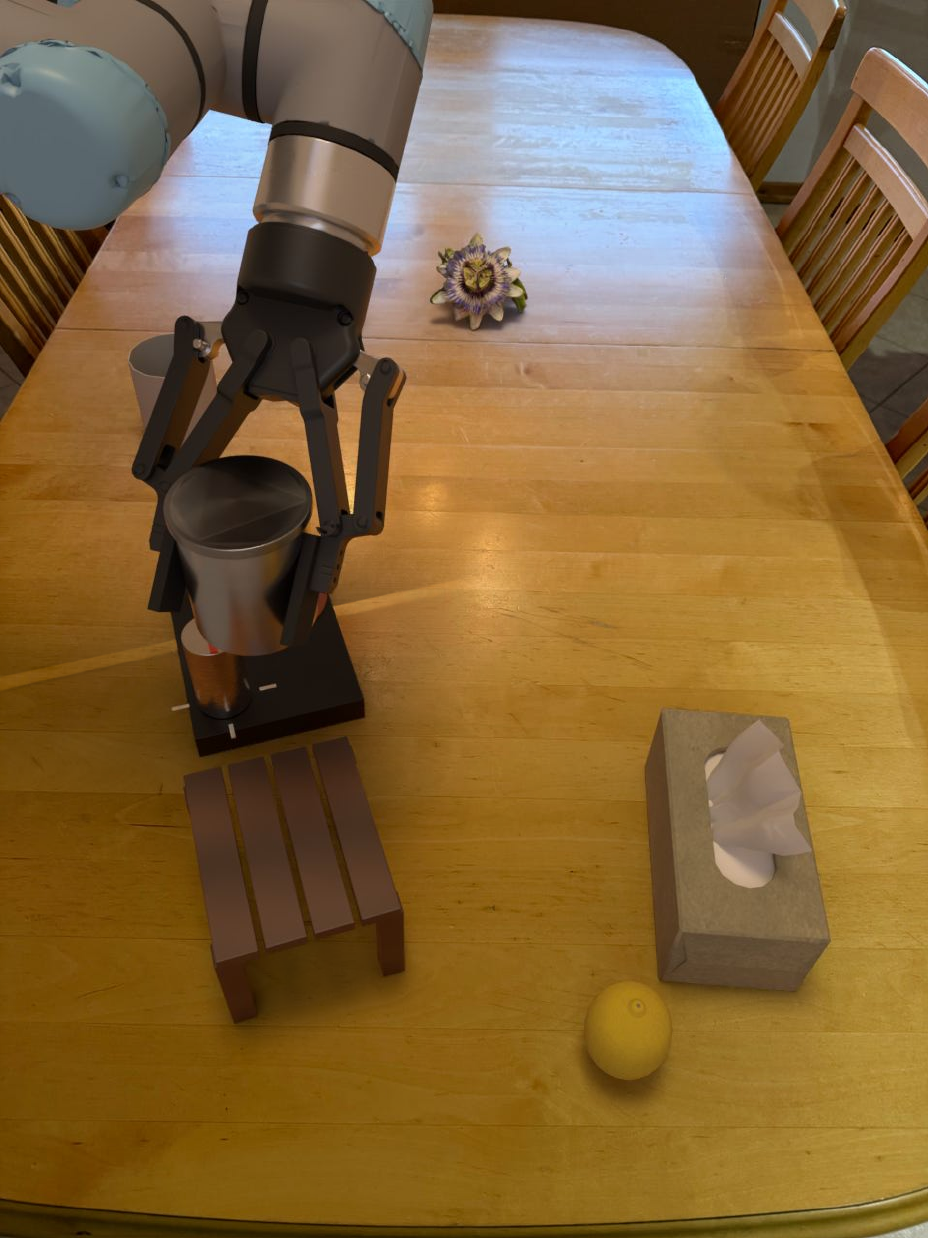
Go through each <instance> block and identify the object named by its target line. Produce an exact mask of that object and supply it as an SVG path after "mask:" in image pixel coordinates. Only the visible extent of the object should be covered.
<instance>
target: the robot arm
mask: <svg viewBox="0 0 928 1238" xmlns="http://www.w3.org/2000/svg"><path fill="white" fill-rule="evenodd" d="M56 2H57V3H55V2H51V1H49V0H0V195H2V196H4V197H5V198H6V199H7V200H8V201H9V202H10V203H12V204H13V205H14V206H15V207H17V209H19V210H20V211H21V214H22V215H24V216H26V217H27V218H29V219H31V220H33V221H35V222H37V223H39V224H41V225H45V226H47V227H51V228H53V229H57V230H58V229H59V230H63V231H75V232H77V231H88V230H95V229H97V228H101V227H103V226H106V225H108V224H109V223H111V222H113V221H115V220H116V219H117V218H118V217H120V216H121V215H122V214H123V213H124V212H125V211H127V210H128V209H129V208H130V207H131V206H132V205H134V204H135V202H137V201H138V200H139V199H141V198H142V197H144V196H145V195H146V194H147V193H149V192H150V191H151V190H152V188H153V186H154V185H155V184H156V183H157V182H158V181H159V180H160V178H161V177H162V173H163V171H164V168H165V166H166V165H167V163H168V162H169V161H170V159H171V157H172V156H173V155H174V153H176V151H177V150H178V148H179V147H180V145H181V144H182V142H183V141H184V140H185V139H186V138H188V137H189V136H190V135H191V134H192V133H193V131H194V130H195V129H196V127H198V125H199V124H200V122H201V121H202V120H203V119H204V118H205V116H206V115H207V114H208V112H210V111H212V112H216V113H220V114H224V115H228V116H232V117H235V118H240V119H243V120H247V121H251V122H255V123H258V124H262V125H264V124H265V125H266V124H268V125H271V128H270V132H269V137H268V141H267V142H268V143H267V149H266V152H265V157H264V160H263V164H262V168H261V173H260V177H259V182H258V185H257V190H256V194H255V198H254V201H253V206H252V216H253V217H254V219H255V221H256V222H257V223H256V224H255V225H253V226H252V227H251V228H249V229H248V230H247V235H246V238H245V239H246V240H245V244H244V249H243V252H242V257H241V261H240V267H239V271H238V275H237V279H236V280H237V281H236V292H235V299H234V302H233V305H232V306H231V308H230V310H229V311H228V312H227V313H226V315H225V316H224V317H223V319H222V320H221V321H218V320H217V321H215V320H214V321H213V320H212V321H197V320H195V319H194V318H192V317H190V316H188V315H181V316H178V318H177V319H176V320H175V322H174V328H173V329H174V330H173V333H174V353H173V357H172V360H171V363H170V366H169V368H168V371H167V374H166V376H165V379H164V382H163V384H162V387H161V390H160V392H159V395H158V398H157V400H156V403H155V406H154V408H153V411H152V414H151V416H150V419H149V422H148V425H147V427H146V430H145V429H144V433H143V436H142V437H141V441H140V443H139V446H138V449H137V452H136V453H135V456H134V460H133V462H132V465H131V474H132V476H133V478H135V479H137V480H139V481H142V482H143V483H145V484H146V485H147V486H149V487H150V488H152V489H153V490H154V491H155V493H156V496H157V501H156V506H155V511H154V516H153V520H152V525H151V529H150V535H149V539H148V544H149V550H150V551H154V552H158V553H159V554H158V559H157V563H156V568H155V573H154V577H153V581H152V585H151V590H150V594H149V599H148V604H147V608H146V610H149V611H152V612H155V613H171V612H180V611H181V606H182V602H183V597H184V593H185V588H186V581H185V577H184V573H183V568H182V564H181V560H180V556H179V552H178V548H177V543H176V540H175V539H174V538H173V536H172V535H171V534H170V532H169V530H168V528H167V525H166V522H165V518H164V511H163V506H164V500H165V497H166V494H167V493H168V491H169V489H170V487H171V486H172V485H173V484H174V482H175V481H176V480H177V479H178V478H179V477H181V476H182V475H183V474H184V473H186V472H187V471H189V470H191V469H192V468H194V467H196V466H198V465H200V464H202V463H205V462H208V461H210V460H214V459H217V458H221V456H222V454H223V453H224V452H225V450H226V448H227V447H228V446H229V444H230V443H231V441H232V440H233V438H234V437H235V435H236V434H237V433H238V431H239V429H240V427H241V426H242V425H243V424H244V422H245V420H246V419H247V417H248V416H249V414H251V413H253V412H254V411H256V410H257V408H258V407H259V406H260V405H261V403H262V401H263V400H264V401H268V402H274V403H277V402H287V403H289V404H291V405H293V406H295V407H297V408H298V410H299V413H300V416H301V418H302V420H303V423H304V425H303V426H304V430H305V437H306V444H307V450H308V451H307V452H308V456H309V464H310V470H311V476H312V484H313V490H314V491H313V492H314V497H315V504H316V511H317V517H318V524H319V526H315V529H316V532H317V533H318V534H319V535H318V534H314V533H311V534H309V533H305V535H304V540H303V544H302V548H301V552H300V556H299V561H298V565H297V569H296V574H295V578H294V583H293V587H292V591H291V596H290V600H289V604H288V609H287V613H286V617H285V622H284V626H283V630H282V635H281V639H280V643H279V644H281V645H284V646H288V647H299V646H307V645H308V641H309V637H310V633H311V628H312V624H313V620H314V615H315V611H316V607H317V602H318V598H319V594H320V593H324V594H329V595H332V594H334V592H335V590H336V589H337V588H338V584H339V580H340V576H341V572H342V571H341V570H342V568H343V563H344V559H345V554H346V551H347V546H348V544H349V543H350V541H352V540H353V539H355V538H361V537H369V536H374V537H375V536H379V535H380V534H382V533H383V531H384V528H385V519H386V508H387V497H388V484H389V471H390V462H391V461H390V460H391V448H392V438H393V437H392V435H393V425H394V424H393V423H394V410H395V407H396V404H397V402H398V400H399V398H400V395H401V393H402V391H403V388H404V387H405V385H406V382H407V373H406V371H405V370H404V369H403V368H402V367H401V366H400V365H399V364H398V363H397V362H396V361H395V360H393V359H392V358H391V357H388V356H387V357H382V358H380V357H379V356H376V355H374V354H371V353H369V352H366V350H365V346H364V342H363V328H364V325H365V323H366V318H367V314H368V311H369V305H370V302H371V298H372V293H373V289H374V284H375V281H376V276H377V272H378V271H377V269H378V268H377V265H376V264H375V261H374V259H373V258H374V256H377V255H378V254H379V253H380V252H382V248H383V242H384V239H385V234H386V230H387V227H388V226H387V225H388V223H389V217H390V214H391V209H392V206H393V201H394V196H395V192H396V188H397V182H398V178H399V174H400V169H401V166H402V161H403V157H404V154H405V149H406V145H407V141H408V136H409V133H410V128H411V125H412V121H413V117H414V113H415V109H416V104H417V100H418V97H419V93H420V88H421V85H422V82H423V80H424V79H423V78H424V67H425V62H426V61H425V60H426V54H427V51H428V50H427V49H428V44H429V39H430V33H431V28H432V24H433V23H432V22H433V17H434V2H433V0H57V1H56ZM223 345H225V347H226V349H227V352H228V356H229V357H230V358H229V359H230V360H231V364H230V365H229V366H228V368H227V370H226V372H225V373H224V375H223V376H222V378H221V379H220V380H219V382H218V384H217V393H216V395H215V397H214V399H213V400H212V402H211V403H210V405H209V406H208V408H207V409H206V411H205V412H204V414H203V415H202V417H201V418H200V420H199V421H198V423H197V424H196V426H195V427H194V429H193V430H192V432H191V433H190V435H189V436H188V438H187V439H186V441H185V442H184V444H183V445H182V443H183V440H184V438H185V435H186V432H187V430H188V427H189V424H190V422H191V419H192V417H193V414H194V411H195V409H196V406H197V403H198V401H199V398H200V395H201V393H202V390H203V387H204V385H205V382H206V379H207V376H208V373H209V369H210V363H211V360H214V359H216V358H218V356H219V351H220V348H221V347H222V346H223ZM357 371H358V372H359V381H358V382H359V387H360V389H361V390H362V391H363V392H364V393H363V397H362V403H361V411H360V424H359V433H358V434H359V435H358V447H357V459H356V471H355V485H354V498H353V509H352V513H351V507H350V503H349V502H350V501H349V495H348V487H347V481H346V475H345V468H344V461H343V456H342V455H343V454H342V448H341V442H340V435H339V429H338V424H339V414H338V405H337V400H336V393H335V392H336V391H337V390H338V389H339V388H340V387H341V386H342V385H344V384H345V383H346V382H347V381H348V380H349V379H350V378H351V377H352V376H353V375H354V374H355V373H356V372H357ZM181 446H182V447H181Z"/></svg>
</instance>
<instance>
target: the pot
mask: <svg viewBox="0 0 928 1238" xmlns="http://www.w3.org/2000/svg"><path fill="white" fill-rule="evenodd" d="M163 511H164V518H165V522H166V525H167V528H168V530H169V532H170V534H171V535H172V536H173V538H174V539H175V540H176V543H177V548H178V552H179V556H180V560H181V564H182V568H183V573H184V577H185V581H186V585H187V589H188V594H189V598H190V602H191V606H192V610H193V614H194V619H195V623H196V626H197V629H198V631H199V633H200V634H201V635H202V637H203V638H204V639H205V640H206V641H207V642H208V643H209V644H211V645H212V646H214V647H215V648H217V649H219V650H221V651H224V652H227V653H230V654H235V655H241V656H260V655H266V654H271V653H274V652H278V651H280V650H283V649H285V648H287V647H288V646H284V645H281V644H279V643H280V639H281V635H282V630H283V626H284V622H285V617H286V613H287V609H288V604H289V600H290V596H291V591H292V587H293V583H294V578H295V574H296V569H297V565H298V561H299V556H300V552H301V548H302V544H303V540H304V535H305V533H309V534H312V533H311V532H312V530H311V518H312V516H313V512H314V498H313V492H312V488H311V485H310V483H309V481H308V480H307V479H306V477H305V476H304V475H303V473H301V471H299V470H298V469H297V468H296V467H294V466H292V465H291V464H288V463H286V462H284V461H283V460H282V461H281V460H279V459H277V458H273V457H270V456H269V457H268V456H265V455H264V456H263V455H256V454H255V455H254V454H236V455H227V456H223V457H220V458H217V459H214V460H210V461H208V462H205V463H202V464H200V465H198V466H196V467H194V468H192V469H191V470H189V471H187V472H186V473H184V474H183V475H182V476H181V477H179V478H178V479H177V480H176V481H175V482H174V484H173V485H172V486H171V487H170V489H169V491H168V493H167V494H166V497H165V500H164V506H163ZM317 613H318V602H317V607H316V611H315V615H314V620H313V624H314V622H315V620H316V617H317ZM313 624H312V626H313Z"/></svg>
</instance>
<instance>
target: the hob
mask: <svg viewBox="0 0 928 1238" xmlns="http://www.w3.org/2000/svg"><path fill="white" fill-rule="evenodd" d="M333 605H334V604H333V603H332V600H331V596H330V594H327V602H326V605H325V608H324V610H323V612H322V613H321V614H320V616H319V617H318V618H317V619H316V620H315V622H314V624H313V626H312V628H311V633H310V637H309V641H308V645H307V646H299V647H287V648H285V649H283V650H280V651H278V652H274V653H271V654H266V655H260V656H244V657H245V662H246V667H247V672H248V677H249V682H250V688H251V693H252V696H251V700H250V703H249V705H248V706H247V707H246V709H245V710H243V711H242V712H241V713H239V714H238V715H236V716H233V717H230V718H223V719H218V718H213V717H210V716H208V715H206V714H205V713H203V712H202V711H201V709H200V708H199V706H198V702H197V698H196V694H195V691H194V687H193V683H192V679H191V675H190V672H189V668H188V664H187V660H186V657H185V653H184V649H183V645H182V641H181V634H182V631H183V629H184V627H185V626H186V625H187V624H188V623H189V622H190V621H191V620H192V619H194V614H193V610H192V606H191V602H190V598H189V594H188V589H187V585H186V588H185V593H184V597H183V602H182V606H181V611H180V612H170V616H171V621H172V626H173V627H172V628H173V632H174V637H175V638H174V639H175V643H176V649H177V654H178V659H179V665H180V669H181V674H182V680H183V686H184V691H185V696H186V697H185V698H186V702H187V703H186V704H180V705H176V706H173V707H171V711H172V712H178V711H182V710H187V709H188V712H189V718H190V723H191V729H192V734H193V739H194V743H195V747H196V750H197V753H198V757H199V758H203V757H204V758H205V757H207V756H213V755H216V754H220V753H224V752H227V751H233V750H236V749H240V748H244V747H248V746H253V745H257V744H261V743H265V742H270V741H272V740H277V739H281V738H286V737H289V736H294V735H297V734H302V733H306V732H310V731H315V730H319V729H323V728H328V727H332V726H335V725H340V724H343V723H347V722H351V721H356V720H359V719H365V718H366V706H365V697H364V693H363V691H362V689H361V686H360V682H359V680H358V677H357V674H356V673H357V672H356V671H355V668H354V665H353V662H352V659H351V656H350V653H349V650H348V648H347V643H346V641H345V638H344V635H343V633H342V630H341V626H340V623H339V620H338V617H337V615H336V611H335V609H334V606H333Z"/></svg>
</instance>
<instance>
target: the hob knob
mask: <svg viewBox="0 0 928 1238" xmlns="http://www.w3.org/2000/svg"><path fill="white" fill-rule="evenodd" d="M181 641H182V645H183V649H184V653H185V657H186V660H187V664H188V668H189V672H190V675H191V679H192V683H193V687H194V691H195V694H196V698H197V702H198V706H199V708H200V709H201V711H202V712H203V713H205V714H206V715H208V716H210V717H213V718H218V719H223V718H230V717H233V716H236V715H238V714H239V713H241V712H242V711H243V710H245V709H246V707H247V706H248V705H249V703H250V700H251V696H252V693H251V688H250V682H249V677H248V672H247V667H246V662H245V657H244V656H241V655H235V654H230V653H227V652H224V651H221V650H219V649H217V648H215V647H214V646H212V645H211V644H209V643H208V642H207V641H206V640H205V639H204V638H203V637H202V635H201V634H200V633H199V631H198V629H197V626H196V623H195V619H192V620H191V621H190V622H189V623H188V624H187V625H186V626H185V627H184V629H183V631H182V634H181Z"/></svg>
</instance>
